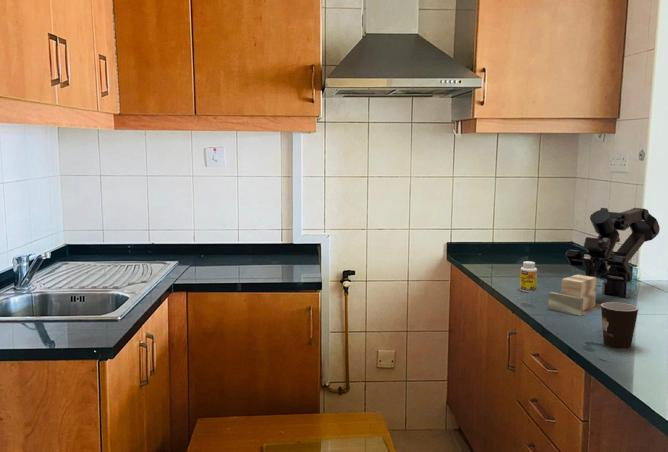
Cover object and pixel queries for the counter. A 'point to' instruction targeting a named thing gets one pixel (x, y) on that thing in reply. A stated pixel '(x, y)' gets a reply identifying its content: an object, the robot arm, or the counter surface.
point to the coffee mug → (618, 324)
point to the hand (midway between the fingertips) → (587, 282)
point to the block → (581, 289)
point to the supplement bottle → (528, 277)
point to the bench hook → (568, 304)
